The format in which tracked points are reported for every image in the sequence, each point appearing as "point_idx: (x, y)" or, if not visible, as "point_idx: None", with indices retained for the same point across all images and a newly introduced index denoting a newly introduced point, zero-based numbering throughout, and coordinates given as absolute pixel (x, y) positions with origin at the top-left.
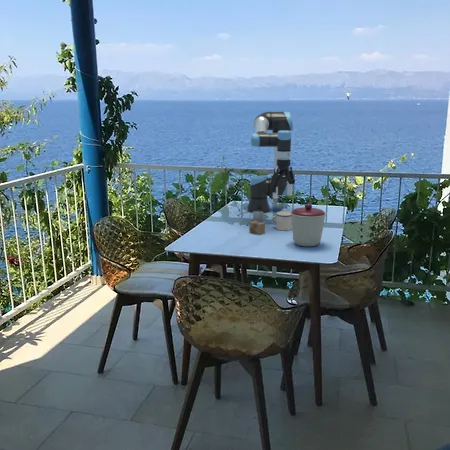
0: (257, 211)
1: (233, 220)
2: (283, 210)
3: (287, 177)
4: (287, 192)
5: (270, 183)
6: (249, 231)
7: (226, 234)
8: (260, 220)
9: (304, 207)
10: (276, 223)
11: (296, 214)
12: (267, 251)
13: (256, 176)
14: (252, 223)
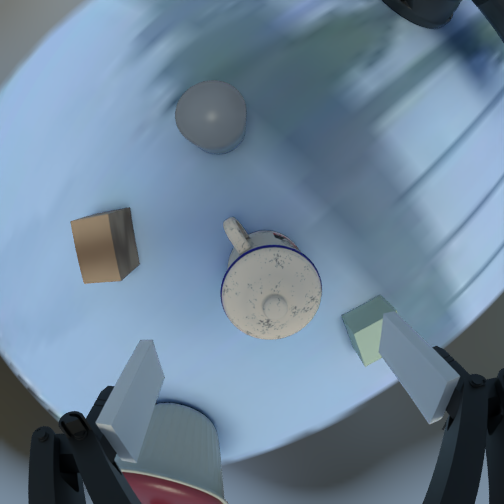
0: (218, 98)
1: (198, 5)
2: (262, 309)
3: (430, 499)
4: (395, 327)
5: (31, 446)
6: (93, 214)
7: (30, 180)
8: (206, 150)
9: (174, 500)
10: (248, 236)
11: None
12: (56, 385)
13: None
14: (75, 240)
